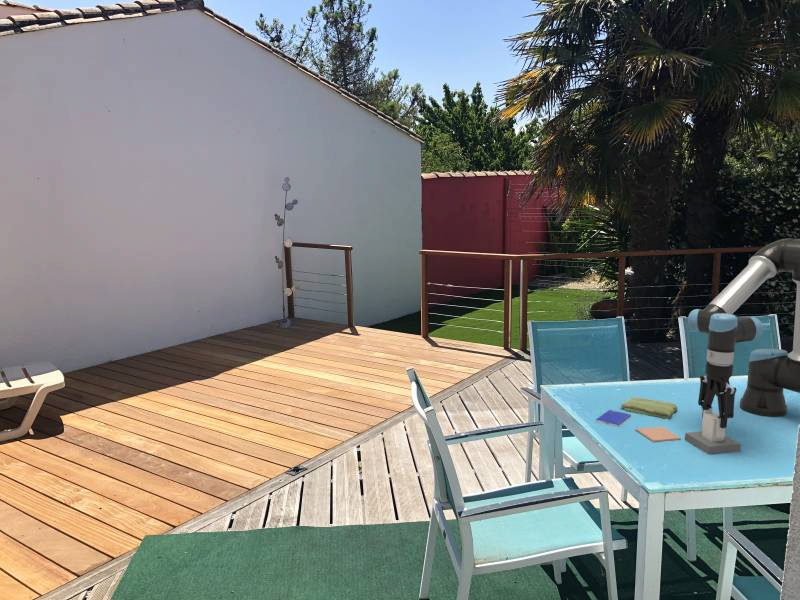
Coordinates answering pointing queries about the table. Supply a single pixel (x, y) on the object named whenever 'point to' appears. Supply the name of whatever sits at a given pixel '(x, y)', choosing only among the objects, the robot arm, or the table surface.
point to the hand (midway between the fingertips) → (713, 432)
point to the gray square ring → (712, 443)
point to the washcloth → (650, 407)
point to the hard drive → (613, 418)
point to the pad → (658, 434)
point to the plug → (710, 427)
